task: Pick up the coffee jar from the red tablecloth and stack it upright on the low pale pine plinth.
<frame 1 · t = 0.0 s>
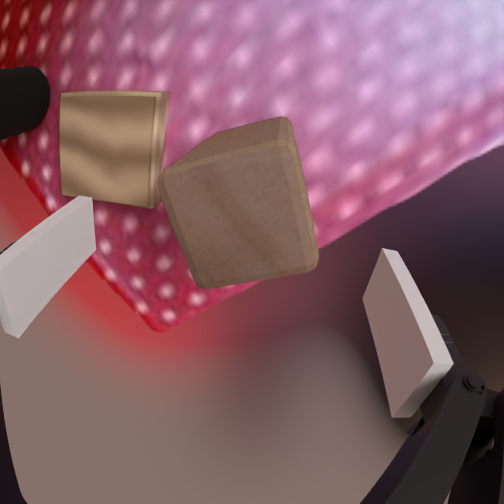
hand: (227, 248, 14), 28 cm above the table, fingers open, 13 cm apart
coffee jar: (30, 97, 37), on the table
wooden block: (259, 160, 40), on the table
plinth: (115, 143, 40), on the table
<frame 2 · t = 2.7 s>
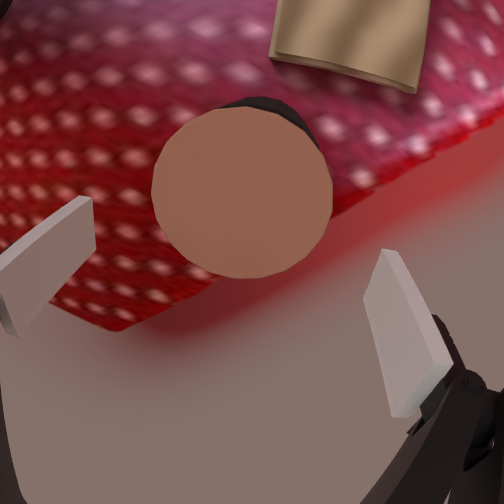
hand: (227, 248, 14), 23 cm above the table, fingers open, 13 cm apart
coffee jar: (260, 143, 34), on the table
plinth: (351, 11, 25), on the table
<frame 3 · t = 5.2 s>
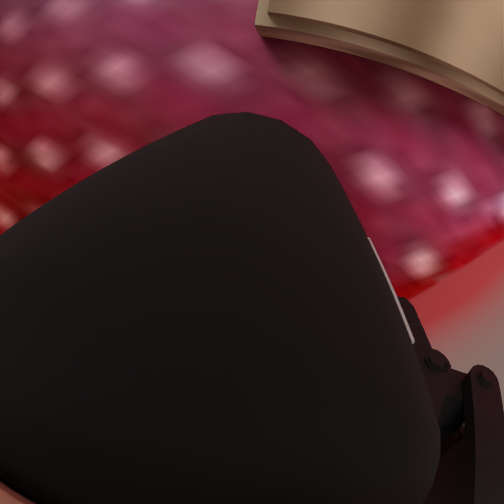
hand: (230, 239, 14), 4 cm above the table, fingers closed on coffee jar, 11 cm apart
coffee jar: (243, 203, 18), on the table, touching gripper
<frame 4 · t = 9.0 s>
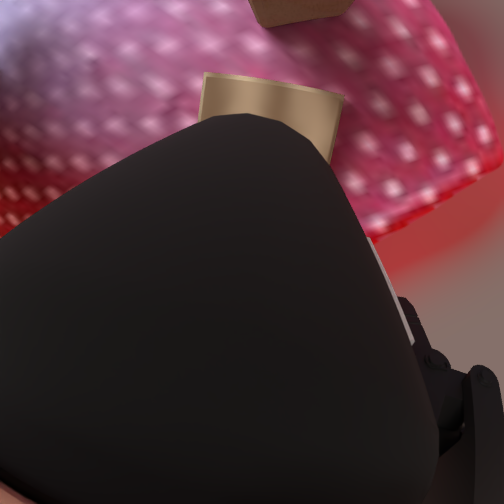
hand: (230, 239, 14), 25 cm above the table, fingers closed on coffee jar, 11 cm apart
coffee jar: (243, 203, 18), point 21 cm above the table, touching gripper
plinth: (264, 142, 37), on the table
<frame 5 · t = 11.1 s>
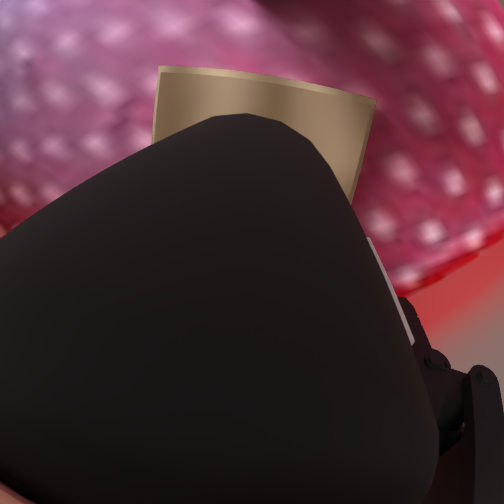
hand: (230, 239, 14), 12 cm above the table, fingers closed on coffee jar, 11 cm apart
coffee jar: (243, 203, 18), point 8 cm above the table, touching gripper
plinth: (254, 168, 25), on the table
when the fingers open (10 cm above the table, at t = 12.8 s): coffee jar drops 1 cm, resting on plinth.
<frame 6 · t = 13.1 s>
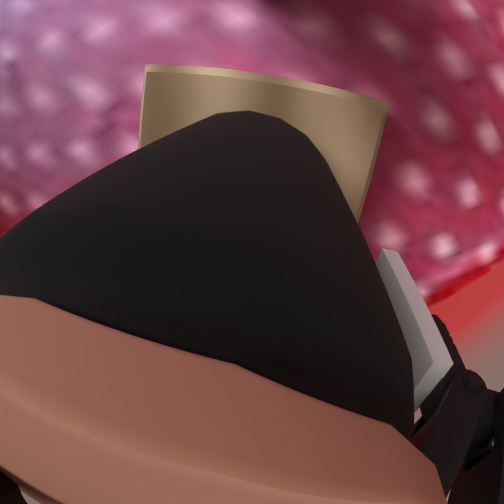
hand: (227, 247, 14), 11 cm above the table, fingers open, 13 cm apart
coffee jar: (244, 194, 20), point 4 cm above the table, touching plinth
plinth: (252, 177, 23), on the table
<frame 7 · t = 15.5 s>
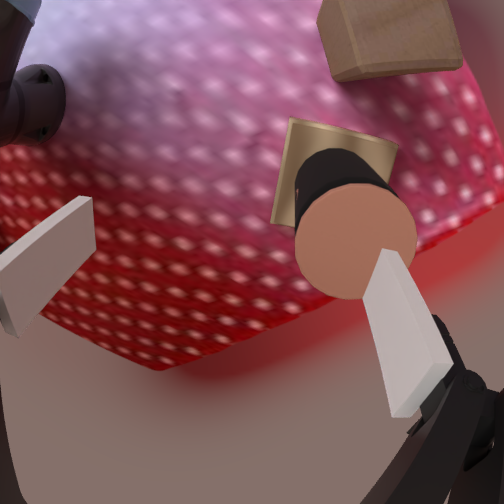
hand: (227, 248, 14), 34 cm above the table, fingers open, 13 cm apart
coffee jar: (334, 184, 41), point 4 cm above the table, touching plinth
wooden block: (358, 45, 35), on the table
plinth: (331, 177, 45), on the table
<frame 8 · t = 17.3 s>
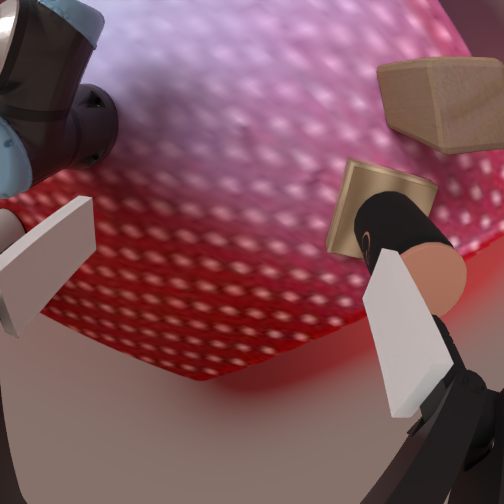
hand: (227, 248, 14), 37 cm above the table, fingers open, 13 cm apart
coffee jar: (384, 220, 47), point 4 cm above the table, touching plinth
wooden block: (409, 94, 40), on the table
cylinder vase: (10, 231, 60), on the table
plinth: (379, 211, 50), on the table
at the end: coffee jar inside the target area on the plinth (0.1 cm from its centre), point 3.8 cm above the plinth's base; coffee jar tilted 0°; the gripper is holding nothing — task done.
